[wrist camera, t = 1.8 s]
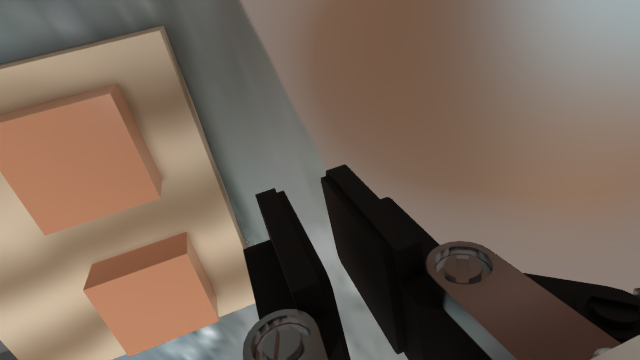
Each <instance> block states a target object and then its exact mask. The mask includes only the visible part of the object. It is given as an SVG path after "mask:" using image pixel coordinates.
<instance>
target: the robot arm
mask: <svg viewBox="0 0 640 360" xmlns="http://www.w3.org/2000/svg"><path fill="white" fill-rule="evenodd" d="M321 184H322V188H323V193H324V197H325V201H326V206H327V210H328V214H329V219H330V223H331V227H332V232H333V236H334V240H335V245H336V249H337V253H338V256H339V259H340V261H341V263H342V265H343V266H344V268H345V270H346V271H347V273H348V275H349V276H350V278H351V280H352V281H353V283H354V285H355V286H356V288H357V290H358V291H359V293H360V295H361V296H362V298H363V300H364V301H365V303H366V305H367V306H368V308H369V310H370V311H371V313H372V315H373V316H374V318H375V320H376V321H377V323H378V325H379V326H380V328H381V330H382V331H383V333H384V334H385V336H386V338H387V339H388V341H389V343H390V344H391V346H392V348H393V349H394V351H395V352H396V353H397V354H400V353H402V352H404V353H405V355H406V357H407V358H408V360H640V288H635V289H634V291H633V294H630V293H628V292H626V291H623V290H620V289H615V288H612V287H608V286H602V285H596V284H589V283H583V282H577V281H570V280H564V279H557V278H551V277H545V276H539V275H532V274H527V273H522V272H520V271H519V270H518V269H516V268H515V267H514V266H512V265H511V264H509V263H508V262H507V261H505V260H504V259H502V258H501V257H499V256H498V255H497V254H495V253H494V252H492V251H491V250H490V249H488V248H486V247H484V246H482V245H480V244H476V243H473V242H464V241H456V242H448V243H445V244H442V245H439V244H438V243H437V242H436V241H435V240H434V239H433V238H432V237H431V236H430V235H429V234H428V233H427V232H426V231H424V229H422V228H421V227H420V226H419V225H418V224H417V223H416V222H415V221H414V220H413V219H412V218H411V217H410V216H409V215H408V214H407V213H406V212H404V210H403V209H402V208H400V207H399V206H398V205H397V204H396V203H395V202H394V201H393V200H392V199H391V198H389V197H386V198H383V199H379V198H378V197H377V196H376V195H375V194H374V193H373V192H372V191H371V190H370V189H369V188H368V187H367V186H366V185H365V184H364V183H363V182H362V181H361V180H360V179H359V178H358V177H357V176H356V175H355V174H354V173H353V171H351V170H350V168H349V167H348V166H347V165H342V166H339V167H336V168H333V169H330V170H327V171H326V176H325V177H322V178H321ZM256 198H257V201H258V204H259V207H260V210H261V213H262V216H263V219H264V222H265V225H266V228H267V231H268V234H269V237H270V240H268V241H265V242H262V243H259V244H257V245H254V246H251V247H248V248H246V249H243V253H244V257H245V261H246V265H247V270H248V274H249V278H250V282H251V286H252V290H253V295H254V299H255V303H256V307H257V311H258V316H259V320H260V321H258V322H257V323H256V324H255V325H254V326H253V327H252V329H251V330H250V331H249V332H248V334H247V337H246V339H245V341H244V346H243V360H350V356H349V352H348V348H347V344H346V340H345V336H344V332H343V328H342V324H341V320H340V316H339V312H338V308H337V304H336V300H335V296H334V293H333V289H332V285H331V282H330V280H329V277H328V275H327V272H326V270H325V268H324V266H323V264H322V262H321V260H320V258H319V257H318V255H317V253H316V251H315V249H314V247H313V245H312V243H311V241H310V240H309V238H308V236H307V234H306V232H305V230H304V228H303V226H302V224H301V223H300V221H299V219H298V217H297V215H296V213H295V211H294V209H293V207H292V206H291V204H290V202H289V200H288V198H287V196H286V194H285V192H284V191H281V192H278V193H277V192H276V190H275V188H274V189H271V190H268V191H265V192H262V193H259V194H256Z"/></svg>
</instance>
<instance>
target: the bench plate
mask: <svg viewBox="0 0 640 360" xmlns="http://www.w3.org/2000/svg"><path fill="white" fill-rule="evenodd" d="M114 84H118V85H119V87H120V89H121V91H122V93H123V96H124V98H125V100H126V102H127V104H128V106H129V109H130V111H131V113H132V115H133V117H134V119H135V122H136V124H137V126H138V128H139V130H140V132H141V134H142V137H143V139H144V141H145V143H146V145H147V147H148V150H149V152H150V154H151V156H152V158H153V160H154V163H155V165H156V167H157V169H158V171H159V173H160V175H161V178H162V189H161V198H160V199H157V200H154V201H150V202H147V203H144V204H141V205H138V206H135V207H132V208H129V209H126V210H123V211H120V212H117V213H114V214H110V215H107V216H104V217H101V218H98V219H95V220H92V221H89V222H86V223H83V224H80V225H77V226H74V227H70V228H67V229H64V230H61V231H58V232H55V233H52V234H49V235H46V236H45V235H44V234H43V232H42V231H41V230H40V228H39V227H38V225H37V224H36V222H35V221H34V220H33V218H32V217H31V215H30V214H29V212H28V211H27V209H26V208H25V207H24V205H23V204H22V202H21V201H20V199H19V198H18V196H17V195H16V194H15V192H14V191H13V189H12V188H11V186H10V185H9V184H8V182H7V181H6V179H5V178H4V176H3V175H2V173H1V172H0V340H1V341H2V343H3V344H4V345H5V346H6V347H7V348H8V349H9V350H10V351H11V352H12V353H13V355H14V356H15V357H16V358H17V359H18V360H112V359H114V358H117V357H120V356H122V355H125V354H127V353H126V352H125V351H124V349H123V348H122V346H121V345H120V343H119V342H118V340H117V339H116V338H115V336H114V335H113V333H112V332H111V330H110V329H109V328H108V326H107V325H106V323H105V322H104V320H103V319H102V317H101V316H100V315H99V313H98V312H97V310H96V309H95V307H94V306H93V304H92V303H91V302H90V300H89V299H88V297H87V296H86V294H85V293H84V292H83V289H84V286H85V283H86V280H87V277H88V274H89V271H90V268H91V266H92V264H95V263H98V262H100V261H103V260H106V259H109V258H112V257H115V256H118V255H121V254H124V253H127V252H129V251H132V250H135V249H138V248H141V247H144V246H147V245H150V244H153V243H155V242H158V241H161V240H164V239H167V238H170V237H173V236H176V235H179V234H182V233H184V232H187V234H188V236H189V238H190V240H191V242H192V244H193V247H194V249H195V251H196V253H197V255H198V257H199V260H200V262H201V264H202V266H203V268H204V270H205V273H206V275H207V277H208V279H209V281H210V283H211V285H212V288H213V290H214V292H215V294H216V296H217V305H218V314H219V317H221V316H224V315H226V314H229V313H231V312H234V311H236V310H239V309H241V308H244V307H246V306H249V305H252V304H254V303H255V299H254V295H253V290H252V286H251V282H250V278H249V274H248V270H247V265H246V261H245V257H244V253H243V249H246V248H247V245H246V243H245V240H244V237H243V235H242V232H241V229H240V227H239V224H238V221H237V219H236V216H235V213H234V211H233V208H232V205H231V203H230V200H229V197H228V195H227V192H226V189H225V187H224V184H223V181H222V179H221V176H220V173H219V171H218V168H217V165H216V163H215V160H214V157H213V155H212V152H211V149H210V147H209V144H208V142H207V139H206V136H205V134H204V131H203V128H202V126H201V123H200V120H199V118H198V115H197V112H196V110H195V107H194V104H193V102H192V99H191V96H190V94H189V91H188V88H187V86H186V83H185V80H184V78H183V75H182V72H181V70H180V67H179V64H178V62H177V59H176V56H175V54H174V51H173V48H172V46H171V43H170V40H169V38H168V35H167V32H166V30H165V27H164V25H162V26H158V27H154V28H150V29H145V30H141V31H137V32H133V33H129V34H125V35H121V36H116V37H112V38H108V39H104V40H100V41H96V42H92V43H87V44H83V45H79V46H75V47H71V48H67V49H63V50H58V51H54V52H50V53H46V54H42V55H38V56H34V57H29V58H25V59H21V60H17V61H13V62H9V63H5V64H0V114H4V113H8V112H12V111H16V110H19V109H23V108H27V107H31V106H35V105H38V104H42V103H46V102H50V101H53V100H57V99H61V98H65V97H69V96H72V95H76V94H80V93H84V92H88V91H91V90H95V89H99V88H103V87H107V86H110V85H114Z"/></svg>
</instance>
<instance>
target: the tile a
mask: <svg viewBox="0 0 640 360" xmlns="http://www.w3.org/2000/svg"><path fill="white" fill-rule="evenodd" d="M0 172H1V173H2V175H3V176H4V178H5V179H6V181H7V182H8V184H9V185H10V186H11V188H12V189H13V191H14V192H15V194H16V195H17V196H18V198H19V199H20V201H21V202H22V204H23V205H24V207H25V208H26V209H27V211H28V212H29V214H30V215H31V217H32V218H33V220H34V221H35V222H36V224H37V225H38V227H39V228H40V230H41V231H42V232H43V234H44V235H45V236H46V235H49V234H52V233H55V232H58V231H61V230H64V229H67V228H70V227H74V226H77V225H80V224H83V223H86V222H89V221H92V220H95V219H98V218H101V217H104V216H107V215H110V214H114V213H117V212H120V211H123V210H126V209H129V208H132V207H135V206H138V205H141V204H144V203H147V202H150V201H154V200H157V199H160V198H161V189H162V178H161V175H160V173H159V171H158V169H157V167H156V165H155V163H154V160H153V158H152V156H151V154H150V152H149V150H148V147H147V145H146V143H145V141H144V139H143V137H142V134H141V132H140V130H139V128H138V126H137V124H136V122H135V119H134V117H133V115H132V113H131V111H130V109H129V106H128V104H127V102H126V100H125V98H124V96H123V93H122V91H121V89H120V87H119V85H118V84H114V85H110V86H107V87H103V88H99V89H95V90H91V91H88V92H84V93H80V94H76V95H72V96H69V97H65V98H61V99H57V100H53V101H50V102H46V103H42V104H38V105H35V106H31V107H27V108H23V109H19V110H16V111H12V112H8V113H4V114H0Z"/></svg>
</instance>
